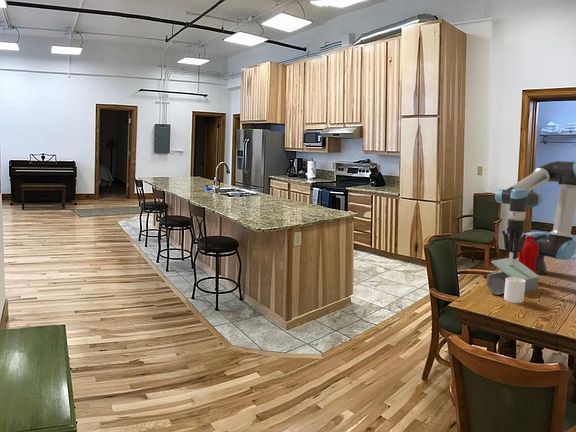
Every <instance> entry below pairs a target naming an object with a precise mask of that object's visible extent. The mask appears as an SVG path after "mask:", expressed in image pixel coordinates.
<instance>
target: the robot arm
mask: <svg viewBox="0 0 576 432" xmlns="http://www.w3.org/2000/svg"><path fill="white" fill-rule="evenodd" d="M549 182H550V183H551V182H552V183H553V182H554V183H558V187H559V188H560V190H559V196H558V201H557V207H556V212H555V217H554V221H553V228H552V230H551V231H550V232H549V233H547V232H546V231H545V232H544V231H543V232H542V231H530V232H526V233H525V230H524V228H525V224H526V223H525V219H526V214H527V213H526V212H527V208H535V207H538V206H540V205H541V204H542V203H543V196H542V195H541V194H540V193H539V192H536V191H533V190H535V189H536V188H537V187H538V186H541V185H545V184H547V183H549ZM494 199H495V201H496V203H498V204H502V205H509V210H508V220H507V227H506V229H505V230H502V231H501V233H502V236H503V243H504V250H506V251H507V258H509V263H508V265H515V259H516V260H518V252H522V249H523V246H524V243H525V241H526V238H527V237H528V236H534V241H533V242H535V243H536V244H537V245H538V247H539V253H538V256H537V258H536V261H535V268H536V274H537V275H544V274H546V273H547V265H546V261H545V257H548V258H552V259H555V260H556V259H557V260H562V261H568V260H570V259H571V258H572V257H573V256H574V255H575V252H576V241H575V240H574V236H573V235H572V233H571V232H572V228H573V223H574V218H575V212H576V161H563V160H561V161H560V160H559V161H558V160H557V161H551V162H548V163H545V164H543V165H541V166H538V167H537V168H535V169H534V170H533V172H532V173H531V174H529V175H527V176H526V177H524V178H522V179H521V180H519V181H518V182H516V183H514V184H513V185H511V186H509V187H507V188H506V189H497V191H496V192H495V195H494Z"/></svg>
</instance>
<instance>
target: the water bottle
mask: <svg viewBox="0 0 576 432" xmlns="http://www.w3.org/2000/svg"><path fill="white" fill-rule="evenodd" d="M533 241H534V236H528V237H527V238H526V241H525V243H524V246H523V249H522V252H518V253H517V260H518V261H519V262H521V263H522V264H523V265H525V266H526V267H527V268H529V269H530V270H532V271H533V272H534V273H536V268H535V261H536V258H537V256H538V253H539V247H538V245H537V244H536V243H535V242H533Z"/></svg>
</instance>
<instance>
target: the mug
mask: <svg viewBox="0 0 576 432" xmlns="http://www.w3.org/2000/svg"><path fill="white" fill-rule="evenodd" d="M487 287H488V290H489V291H490V292H491V294H494V295H502V294H504V292H505V282H504V280H502V279H501V278H492V279H491V280H490V281H489V282H488V286H487Z"/></svg>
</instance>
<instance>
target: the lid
mask: <svg viewBox="0 0 576 432" xmlns="http://www.w3.org/2000/svg"><path fill="white" fill-rule="evenodd" d="M490 263H492V265H494V266H495V267H496V268H497V269H499V270H501V271H503V272H504V273H505V274H507V275H508V276H509V277H515V278H520V279H523V280H525V281H527V280H531V279H535V278H538V279H539V277H540V275H539V274H536V273H534V272H533V271H532V270H530V269H529V268H527V267H526V266H525V265H523V264H522V263H521V262H519V259H515V265H508V263H509V258H508V257H506V258H499V259H495V260H491V261H490Z"/></svg>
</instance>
